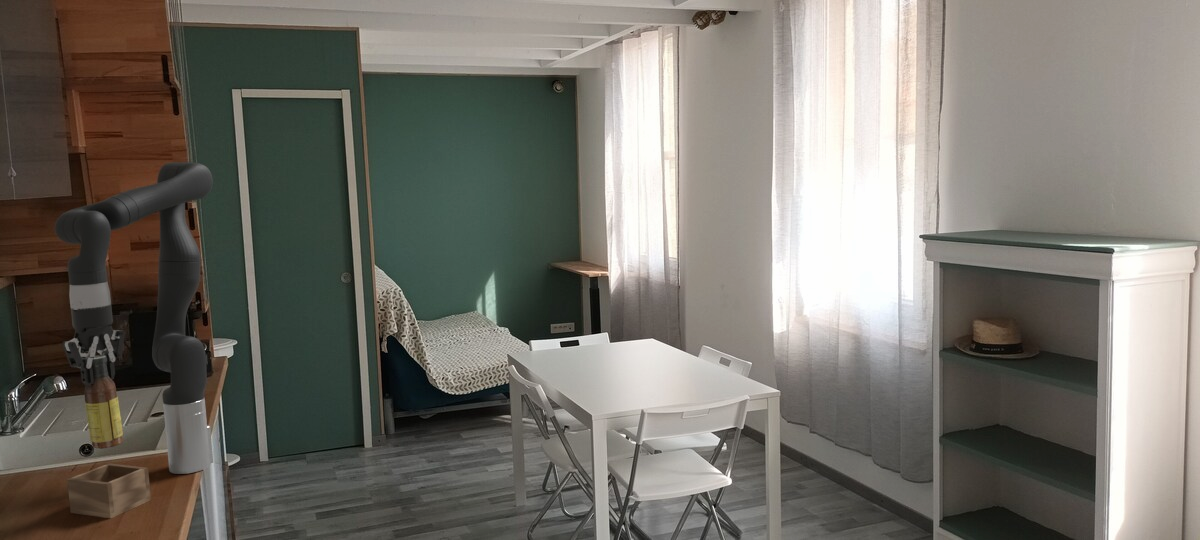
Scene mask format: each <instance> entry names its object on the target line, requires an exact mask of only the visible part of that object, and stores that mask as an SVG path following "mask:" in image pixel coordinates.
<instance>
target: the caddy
mask: <svg viewBox="0 0 1200 540" xmlns="http://www.w3.org/2000/svg"><path fill="white" fill-rule="evenodd" d="M149 475H150V474H149V467H143V466H135V465H126V464H117V463H109V462H108V463H106V464H104V465H101V466H99V467H96V468H93V469H91V470H88V471H85V472H83V473H80V474H78V475H74V476H73V477H70V478H67V479H66V484H67V492H68V502H69V509H70V511H69V512H70V514H76V515H83V516H91V517H98V518H105V519H113V518H115V517H117V516H120V515H122V514H123V513H126V512H128V511H130V510H132V509H135V508H136V507H139V506H141V505H143V504H146V503H147V502H150V501H152V498H151V497H152V496H151V495H152V494H151V487H150V476H149Z"/></svg>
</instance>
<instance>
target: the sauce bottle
mask: <svg viewBox="0 0 1200 540" xmlns="http://www.w3.org/2000/svg"><path fill="white" fill-rule="evenodd" d="M85 362H86V360H85ZM106 362H107V358H106V355H100V354H98V355H96V354H95V357H94V358H93V360H92V366H91V368H92V369H93V378H94V385H91V386H87V385H84V386H85V387H84V404H85V410H86V411H85V412H86V418H87V419H86V420H87V425H88V431H89V437H90V438H89V440H90V441H91V446H92V448H95V449H107V448H114V447H117V446H119V445H121V444H123V442H124V438H123V434H124V433H123V431H124V430H123V425H122V419H121V411H120V405H119V404H120V402H119V398H118V396H119V395H117V388H116V383H115V381H114V380H113V379H111V378H110V377H109V376H108V372H107V365H106Z"/></svg>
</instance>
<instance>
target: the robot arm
mask: <svg viewBox="0 0 1200 540" xmlns="http://www.w3.org/2000/svg"><path fill="white" fill-rule="evenodd" d="M156 181H157V182H156V183H154V184H149V185H144V186H139V187H135V188H131V189H128V190H125V191H122V192H120V193H117V194H114V195H112V196H110V197H108V198H105V199H104V200H102V201H99V202H95V203H90V204H88V205H86V204H85V205H84V206H79V207H76V208H72V209H70V210H67V211H66V212H63V213H62V214H61V215H59V217H58V218H57V219H56V221H55V223H54V233H55V235H56V236H57V238H58V239H59V240H60V241H62V242H63V243H67V244H69V245H80V248H79V249H80V250H79V254H78V255H75V256H73V257H71V258H69V259H68V261H67V273H68V282H69V292H68V293H69V295H68V296H69V304H70V313H71V314H70V315H71V323H72V328H73V329H74V330H75V331H74V335H73V338H72V339H70V340H68V341H63V342H62V344H61V346H62V349H63V350H64V353H65V356H66V358H67V361H68V363H69V366H70V367H71V368H77V369H80V379H81V382H82V384H83V385H84V386H86V385H87V386H91V385H94V378H93V369H92V368H91V366H92V360H93V358H94V357H95V356H96V352H97V353H98V355H106V358H107V362H106V365H107V372H108V376H109V377H110V378H111V379H112V380H114V379H115V377H116V376H115V375H116V370H115V367H116V366H115V362H116V359H118V358H122V355H123V350H124V343H125V336H126V331H125V330H119V329H117V330H115V329H113V327H112V324H113V323H114V319H113V318H114V317H113V311H112V310H113V309H112V299H111V291H110V286H109V284H108V283H109V282H108V275H107V266H106V262H107V257H108V253H109V247H110V243H111V237H112V235H111V232H112V231H117V230H120V229H123V228H125V227H127V226H130V225H131V224H134V223H136V222H137V221H140V220H142V219H144V218H147V217H149V216H151V215H153V214H156V213H158V212H159V213H158V215H159V249H158V251H159V253H158V254H159V255H158V274H157V279H158V283H157V284H158V287H157V303H156V304H157V305H156V306H157V309H156V319H155V320H156V321H155V325H154V327H155V328H154V334H153V341H152V349H151V350H152V351H151V352H152V353H151V355H152V356H151V357H152V361H153V363H154V365H155V367H156V368H157V369H159V370H160V371H162V372H167V373H170V386H169V387H167V388H165V389H164V390H163V391H162V393H161V394H162V395H161V396H162V407H163V416H164V426H165V436H166V437H165V438H166V439H165V441H166V449H167V459H168V470H169V472H170V473H171V474H175V475H176V474H177V475H182V474H183V475H186V474H192V473H196V472H201V471H203V470H205V469H208V468H209V467H210V466H211V464H213V463H214V454H213V442H212V430H211V429H212V428H211V426H210V425H208V424H207V423H208V422H207V421H208V420H207V410H206V399H205V391H206V387H207V383H208V382H207V381H208V379H207V378H208V376H207V355H206V349H205V346H204V344H203V342H202V341H201V340H200V339H198V338H197V337H194V336H191V335H190V336H189V335H186V319H187V313H188V309H189V307H190V305H191V303H192V300H193V298H194V297H195V294H196V292H197V291H198V288H199V285H200V281H201V266H202V265H201V264H202V263H201V261H202V259H201V252H200V250H199V247H198V245H197V242H196V240H195V238H194V236H193V234H192V232H191V230H190V229H189V227H188V224H187V220H186V203H189V202H192V201H197V200H202V199H204V198H206V197H207V196H208V195H209V194H210V193H211V191H212V188H213V183H214V179H213V175H212V172H211V171H210V169H209V168H208V167H207V166H206V165H204V164H202V163H198V162H193V161H192V162H189V161H188V162H187V161H185V162H183V161H182V162H181V161H180V162H179V161H176V162H175V161H174V162H167V163H165V164H163V165H162V166H161V167H160V169H159V171H158V175H157V180H156ZM85 360H86V362H85Z"/></svg>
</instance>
